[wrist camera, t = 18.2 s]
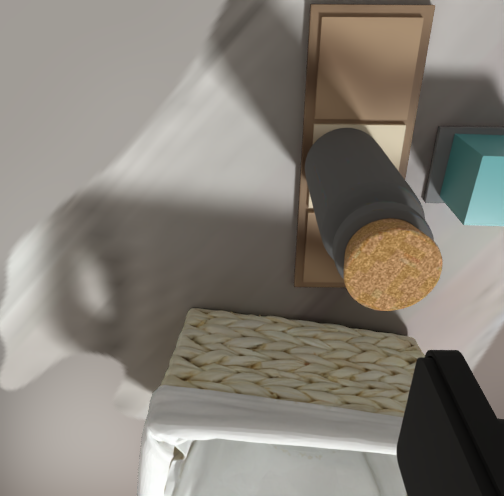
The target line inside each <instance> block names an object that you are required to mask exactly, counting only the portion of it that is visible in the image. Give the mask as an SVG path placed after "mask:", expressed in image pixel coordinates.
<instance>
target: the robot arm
mask: <svg viewBox="0 0 504 496" xmlns="http://www.w3.org/2000/svg"><path fill="white" fill-rule="evenodd" d="M396 452H397V461H398V466H399V469H400V472H401V476H402V479H403V483H404V486H405V489H406V493H407V496H504V419H497V417H496V415H495V413H494V412H493V410H492V408H491V406H490V405H489V403H488V401H487V399H486V397H485V395H484V393H483V392H482V390H481V388H480V386H479V384H478V382H477V381H476V379H475V377H474V375H473V373H472V371H471V370H470V368H469V366H468V364H467V362H466V361H465V359H464V357H463V355H462V354H461V353H460V352H459V351H458V350H428V351H427V353H426V355H425V357H420V358H418V359H417V361H416V365H415V369H414V374H413V378H412V382H411V387H410V391H409V395H408V399H407V404H406V408H405V412H404V417H403V421H402V425H401V430H400V434H399V438H398V442H397V451H396Z"/></svg>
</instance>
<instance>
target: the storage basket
mask: <svg viewBox="0 0 504 496" xmlns="http://www.w3.org/2000/svg"><path fill="white" fill-rule="evenodd" d="M420 357H425V355H424V354H423V353H422V352H421V349H420V348H419V346H418V344H417V342H416V341H415V339H414V338H412V337H408V336H402V335H396V334H394V333H383V332H374V331H370V330H364V329H350V328H348V327H345V326H341V325H337V324H319V323H315V322H311V321H303V320H288V319H285V318H282V317H276V316H265V317H260V315H259V316H256V315H252V314H249V315H244V314H237V313H233V312H232V311H230V312H227V311H222V310H219V311H214V310H207V309H200V308H191V309H190V310H189V311H188V313H187V316H186V319H185V323H184V327H183V329H182V331H181V333H180V335H179V338H178V341H177V344H176V349H175V350H174V352H173V355H172V357H171V359H170V362H169V368H168V370H167V371H166V373H165V376H164V379H163V380H162V382H161V386H160V387H158V389H157V390H155V391H154V392H153V394H152V397H151V400H150V404H149V411H148V415H147V418H146V421H145V424H144V429H143V434H142V439H141V449H140V458H139V459H140V460H139V470H138V486H137V496H407V493H406V489H405V486H404V483H403V479H402V476H401V472H400V469H399V466H398V461H397V452H396V451H397V442H398V438H399V434H400V430H401V425H402V421H403V417H404V412H405V408H406V404H407V399H408V395H409V391H410V387H411V382H412V378H413V374H414V369H415V365H416V361H417V359H418V358H420Z"/></svg>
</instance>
